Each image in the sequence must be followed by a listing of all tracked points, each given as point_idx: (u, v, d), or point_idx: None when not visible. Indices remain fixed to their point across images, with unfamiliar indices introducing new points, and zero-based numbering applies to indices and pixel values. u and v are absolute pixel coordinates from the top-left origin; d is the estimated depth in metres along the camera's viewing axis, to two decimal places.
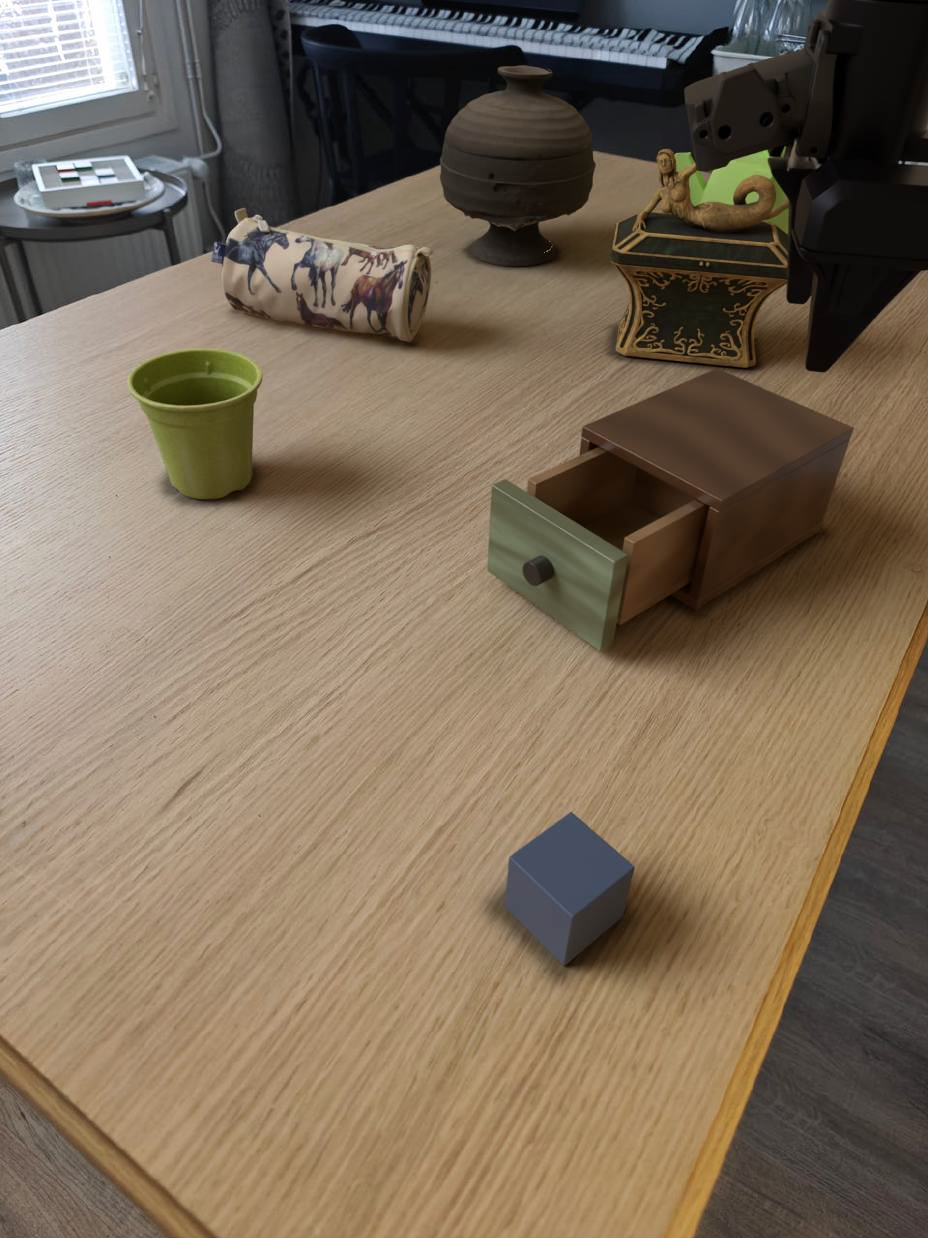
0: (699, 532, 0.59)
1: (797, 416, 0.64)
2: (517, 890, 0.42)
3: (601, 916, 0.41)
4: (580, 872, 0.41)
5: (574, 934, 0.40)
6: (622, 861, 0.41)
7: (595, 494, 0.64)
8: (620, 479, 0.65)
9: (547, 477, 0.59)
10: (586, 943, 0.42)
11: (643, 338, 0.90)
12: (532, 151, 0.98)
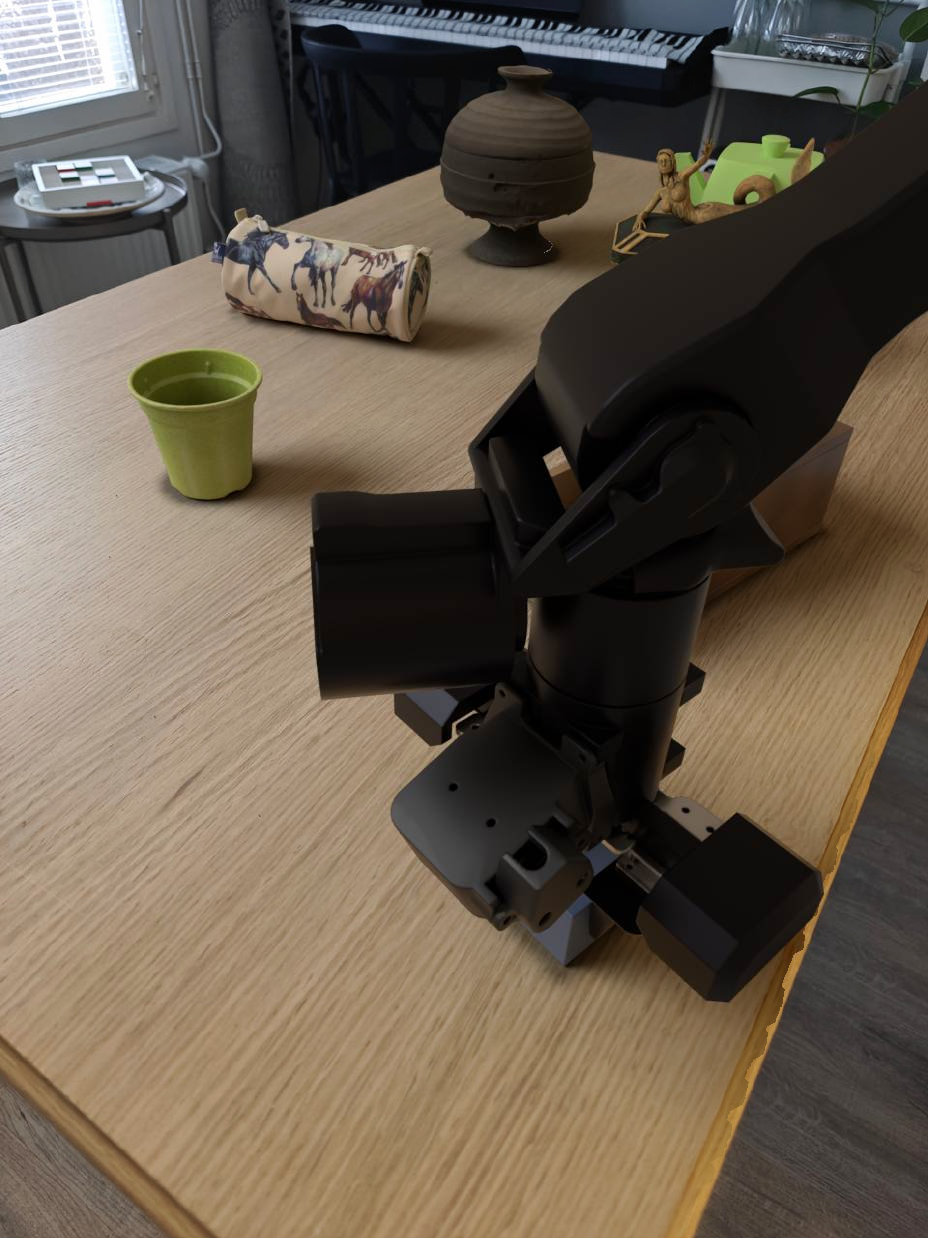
0: None
1: None
2: None
3: None
4: None
5: (574, 934, 0.40)
6: None
7: None
8: None
9: None
10: (586, 943, 0.42)
11: None
12: (532, 151, 0.98)
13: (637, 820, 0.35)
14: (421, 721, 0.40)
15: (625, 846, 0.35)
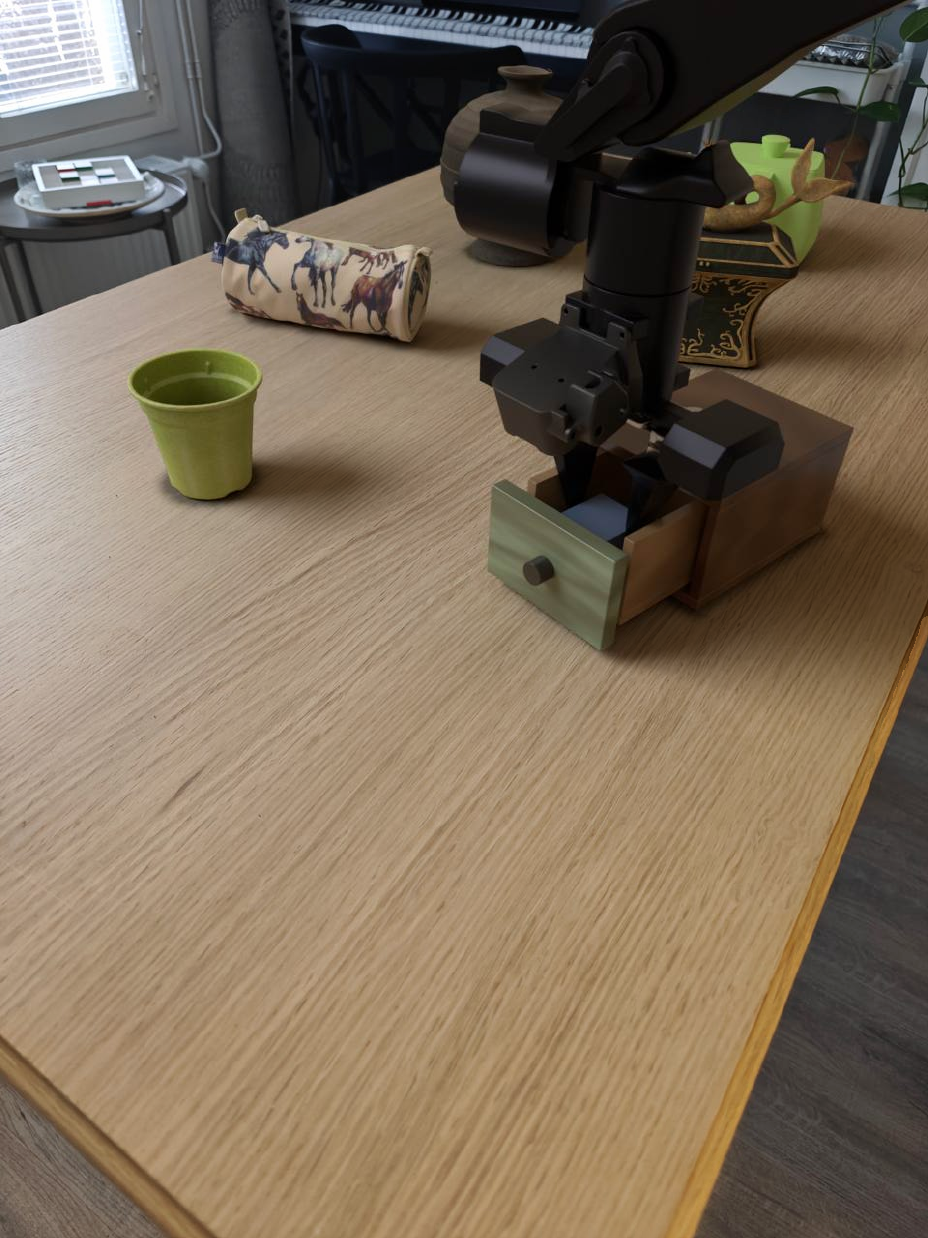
0: (699, 532, 0.59)
1: (797, 416, 0.64)
2: None
3: None
4: (609, 521, 0.58)
5: None
6: None
7: (595, 494, 0.64)
8: (620, 479, 0.65)
9: (547, 477, 0.59)
10: None
11: None
12: None
13: (657, 408, 0.51)
14: None
15: (643, 421, 0.51)
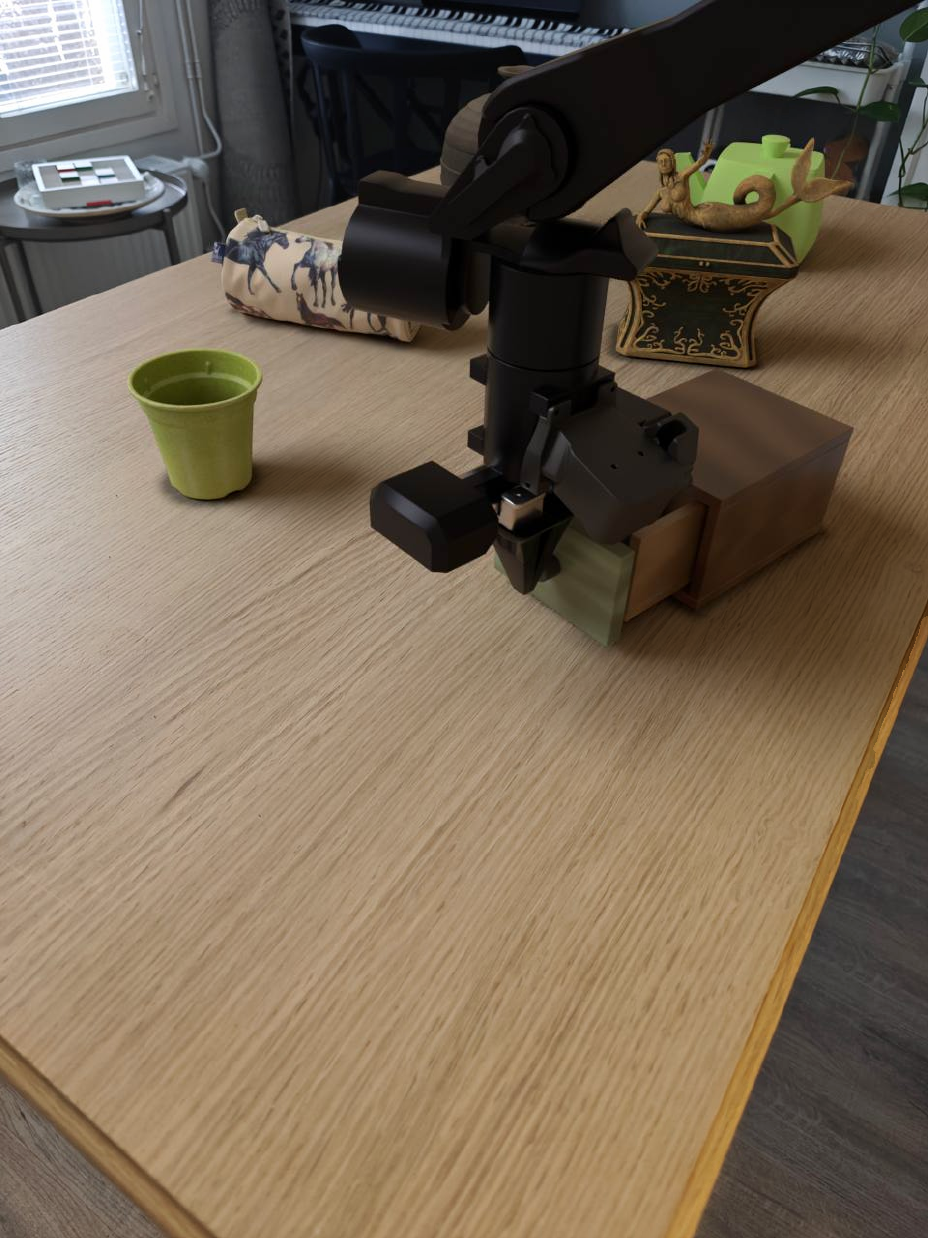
0: None
1: (797, 416, 0.64)
2: None
3: None
4: None
5: None
6: None
7: None
8: None
9: None
10: None
11: (643, 338, 0.90)
12: None
13: None
14: (477, 540, 0.46)
15: None
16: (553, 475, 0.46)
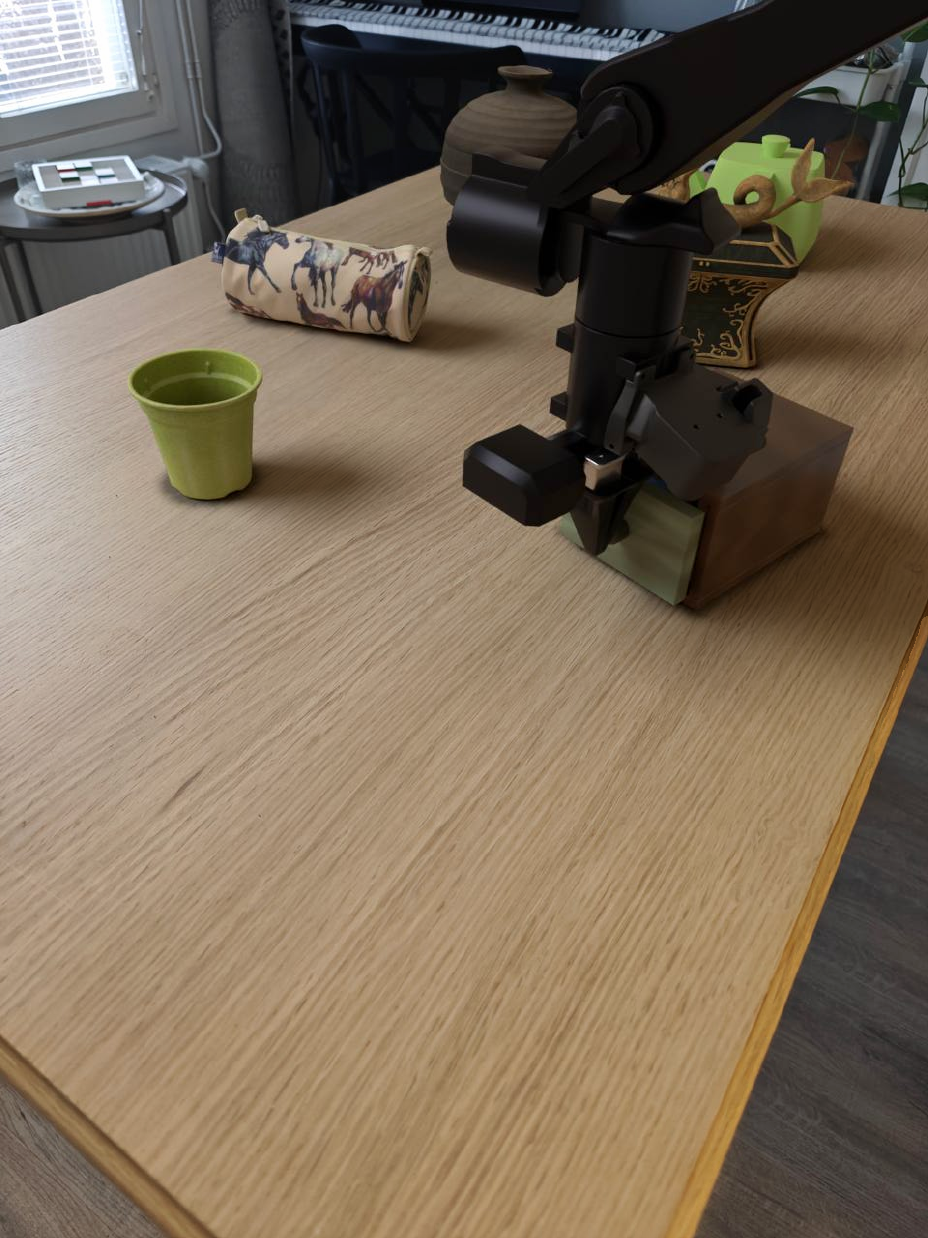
0: None
1: (797, 416, 0.64)
2: None
3: None
4: None
5: None
6: None
7: None
8: None
9: None
10: None
11: None
12: (532, 151, 0.98)
13: None
14: (567, 496, 0.49)
15: None
16: (638, 435, 0.49)
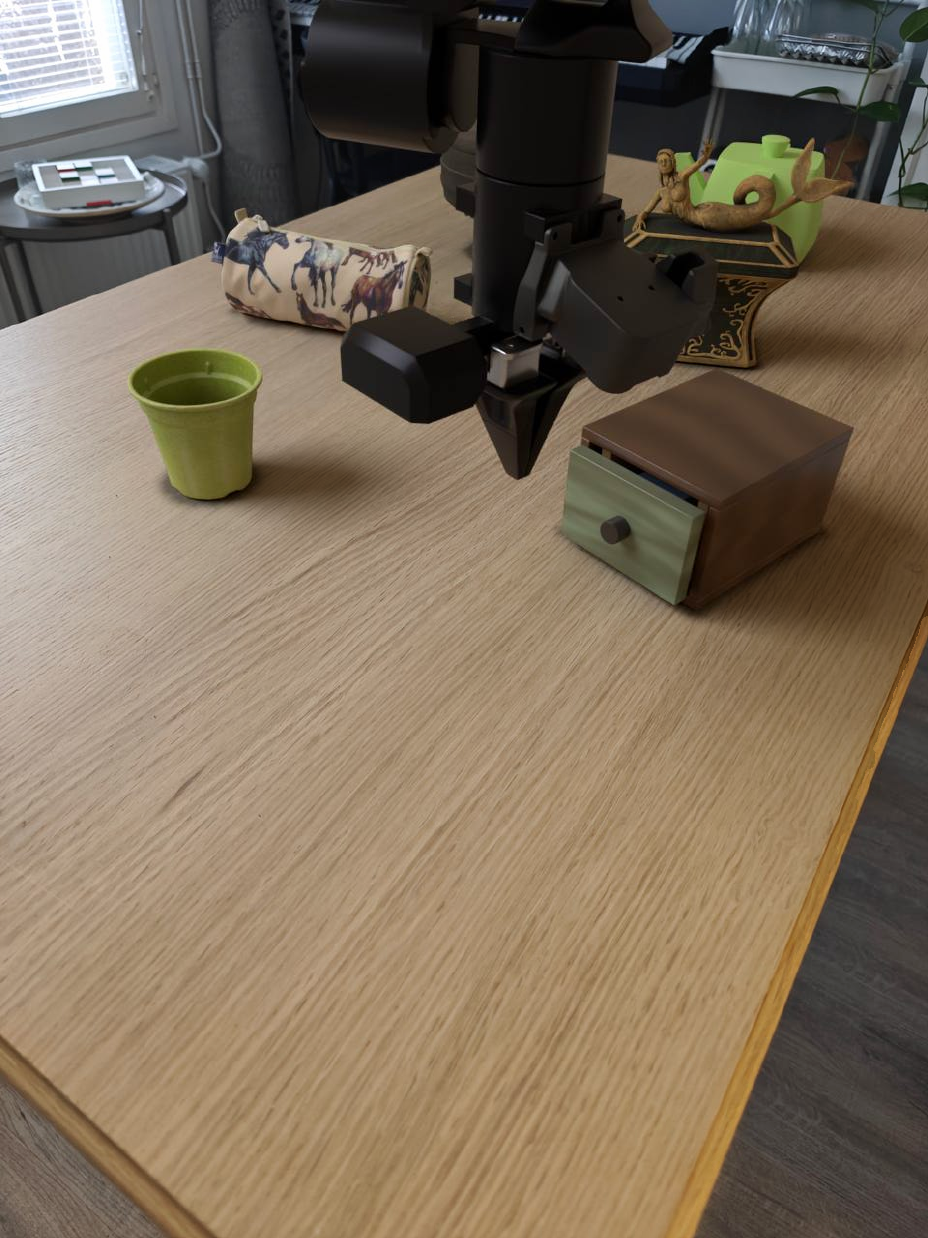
0: None
1: (797, 416, 0.64)
2: None
3: None
4: None
5: None
6: None
7: None
8: None
9: None
10: None
11: None
12: None
13: None
14: (463, 387, 0.40)
15: None
16: (550, 312, 0.40)
